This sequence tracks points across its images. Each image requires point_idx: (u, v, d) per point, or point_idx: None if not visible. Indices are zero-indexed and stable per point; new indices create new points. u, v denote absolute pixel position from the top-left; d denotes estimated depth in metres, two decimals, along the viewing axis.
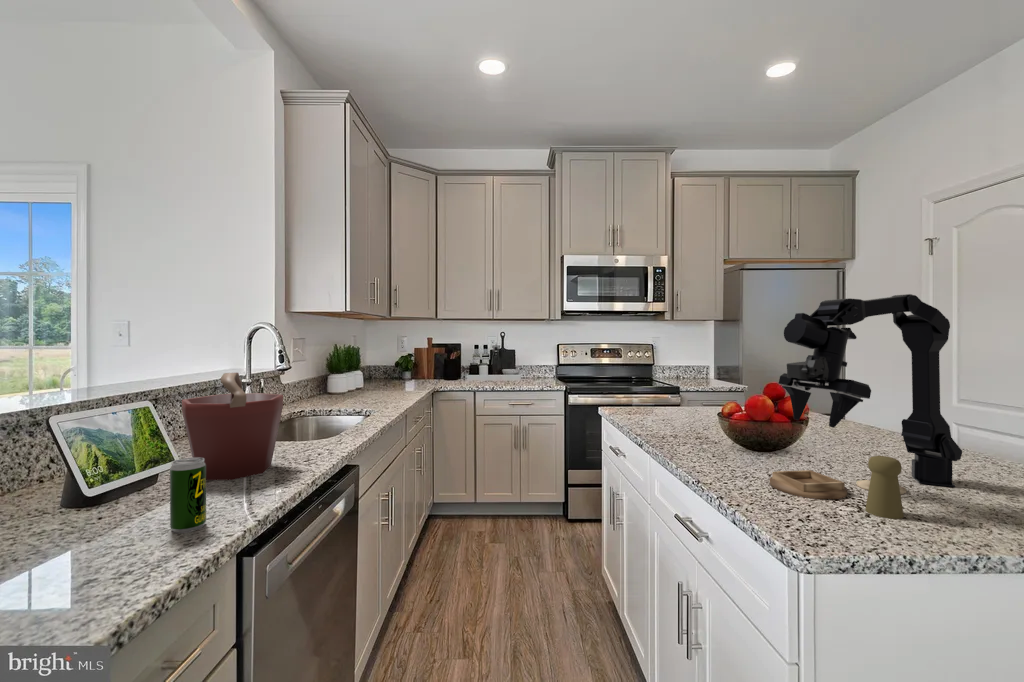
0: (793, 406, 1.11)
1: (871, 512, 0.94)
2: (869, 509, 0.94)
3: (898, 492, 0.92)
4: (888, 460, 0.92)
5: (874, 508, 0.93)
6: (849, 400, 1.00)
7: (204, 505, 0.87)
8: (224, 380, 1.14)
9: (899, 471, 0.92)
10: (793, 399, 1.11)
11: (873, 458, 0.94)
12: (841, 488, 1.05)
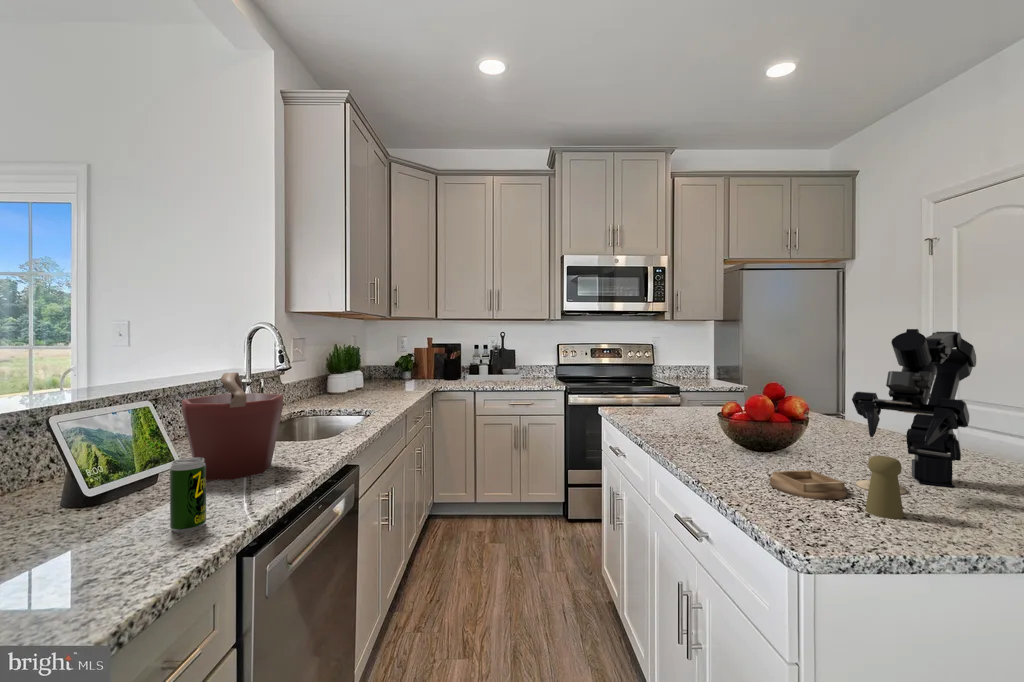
0: (870, 422, 1.04)
1: (871, 512, 0.94)
2: (869, 509, 0.94)
3: (898, 492, 0.92)
4: (888, 460, 0.92)
5: (874, 508, 0.93)
6: (945, 424, 0.97)
7: (204, 505, 0.87)
8: (224, 380, 1.14)
9: (899, 471, 0.92)
10: (870, 416, 1.04)
11: (873, 458, 0.94)
12: (841, 488, 1.05)
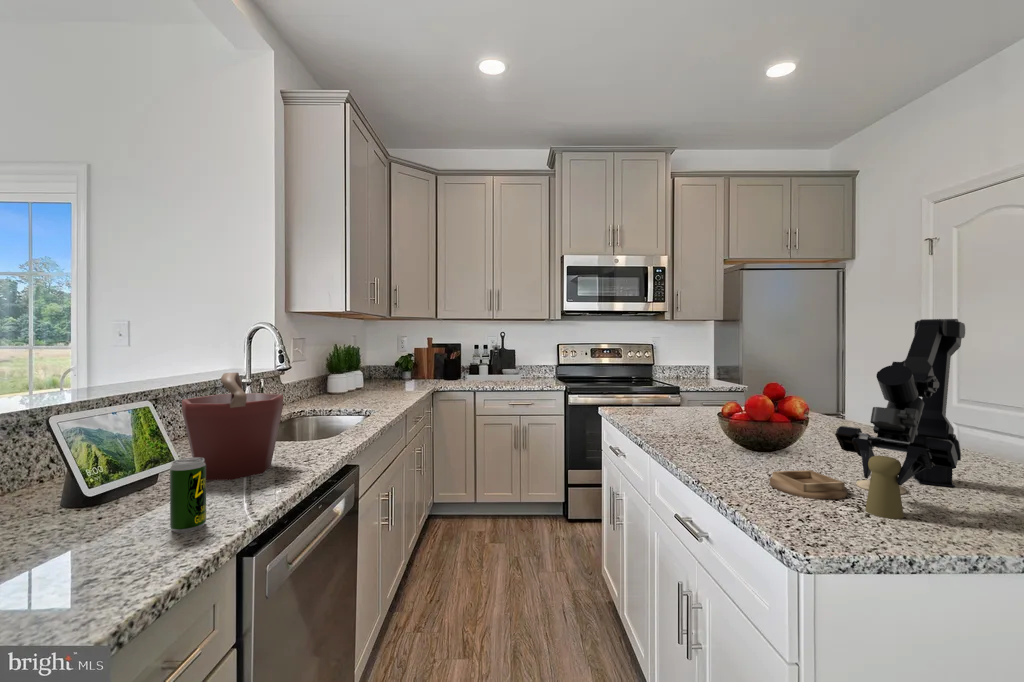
0: (865, 462, 0.97)
1: (871, 512, 0.94)
2: (869, 509, 0.94)
3: (898, 492, 0.92)
4: (888, 460, 0.92)
5: (874, 508, 0.93)
6: (918, 462, 0.93)
7: (204, 505, 0.87)
8: (224, 380, 1.14)
9: (899, 471, 0.92)
10: (865, 455, 0.97)
11: (873, 458, 0.94)
12: (841, 488, 1.05)
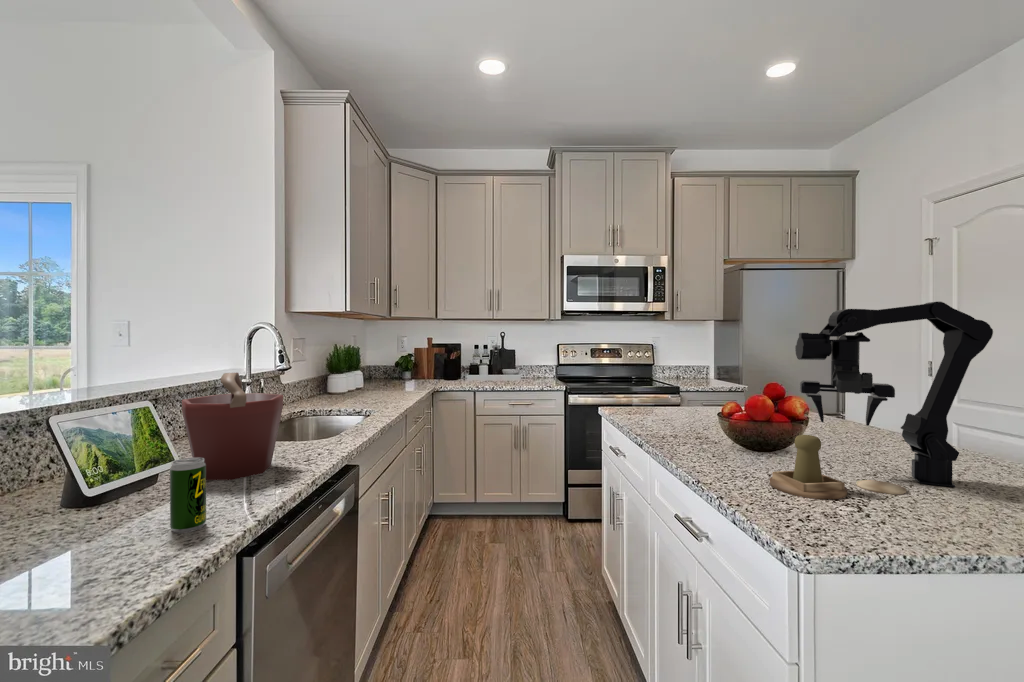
0: (820, 411, 1.20)
1: None
2: None
3: (813, 465, 1.07)
4: (805, 437, 1.08)
5: (794, 478, 1.10)
6: None
7: (204, 505, 0.87)
8: (224, 380, 1.14)
9: (814, 447, 1.07)
10: (819, 405, 1.20)
11: (797, 436, 1.11)
12: (841, 488, 1.05)
